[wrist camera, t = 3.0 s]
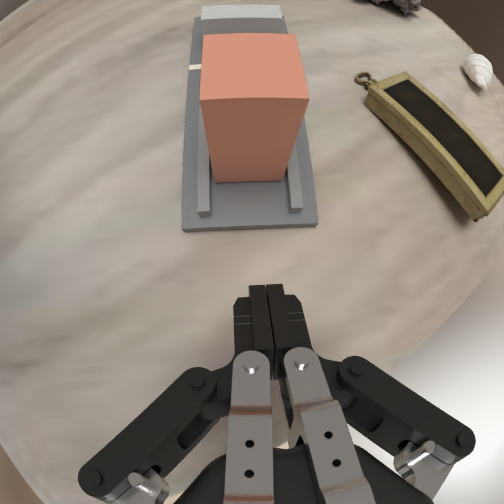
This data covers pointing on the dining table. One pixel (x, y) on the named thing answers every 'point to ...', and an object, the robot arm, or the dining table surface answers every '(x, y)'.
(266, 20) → the grey slide track
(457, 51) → the dining table surface
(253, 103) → the salmon rectangular block
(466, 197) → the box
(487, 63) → the white seashell
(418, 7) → the mineral specimen
